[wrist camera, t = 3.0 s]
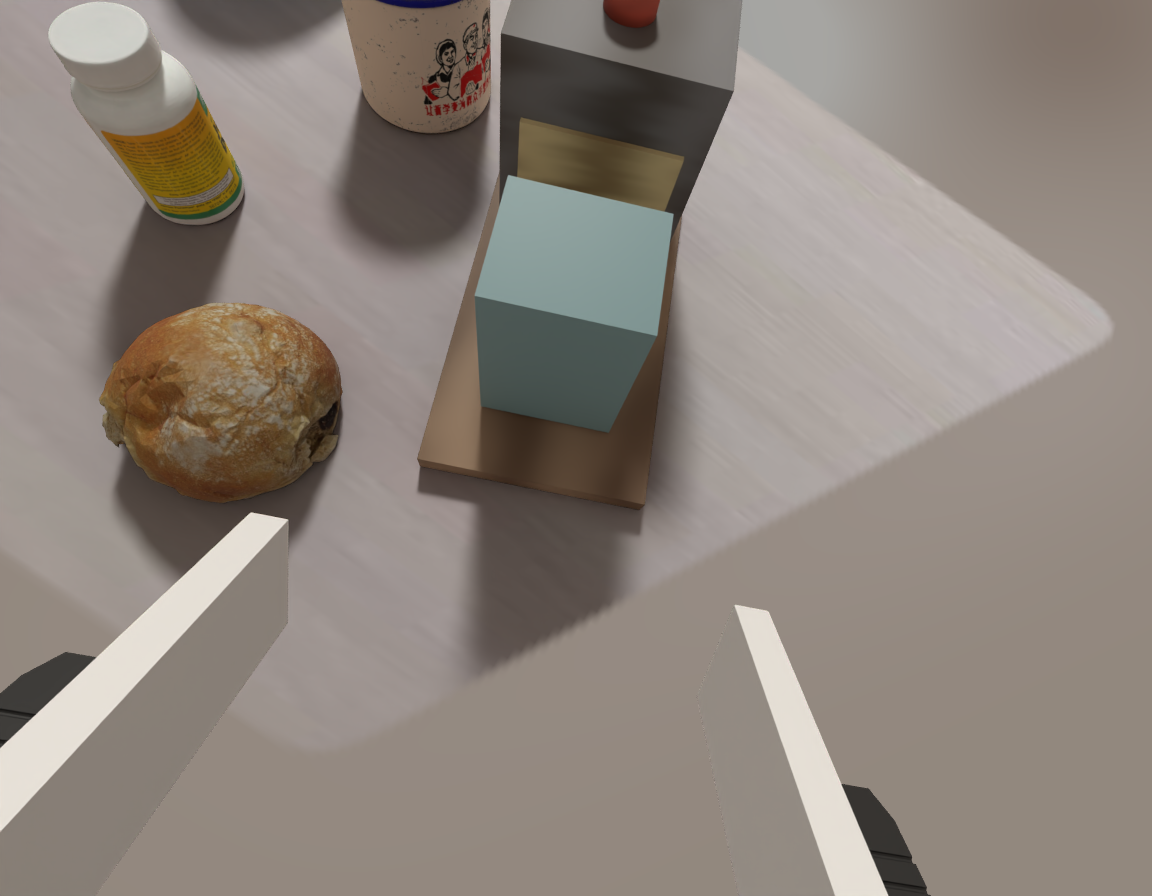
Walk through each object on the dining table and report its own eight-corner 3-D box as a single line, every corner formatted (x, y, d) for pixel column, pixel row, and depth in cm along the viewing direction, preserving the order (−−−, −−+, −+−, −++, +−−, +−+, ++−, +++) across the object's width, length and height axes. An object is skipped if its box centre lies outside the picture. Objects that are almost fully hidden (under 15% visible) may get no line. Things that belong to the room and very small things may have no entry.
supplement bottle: (129, 194, 34) (-2, 28, 25) (203, 144, 36) (106, -27, 27) (196, 245, 33) (86, 93, 24) (267, 191, 35) (190, 32, 26)
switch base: (420, 466, 31) (361, 314, 17) (506, 160, 38) (512, -107, 25) (639, 510, 31) (747, 397, 18) (679, 201, 39) (775, -36, 26)
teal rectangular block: (480, 406, 31) (474, 295, 21) (504, 312, 33) (508, 175, 24) (608, 432, 31) (657, 335, 22) (623, 338, 33) (673, 213, 24)
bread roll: (302, 529, 32) (331, 504, 26) (73, 486, 27) (37, 443, 21) (344, 373, 36) (379, 317, 29) (147, 310, 31) (137, 226, 24)
